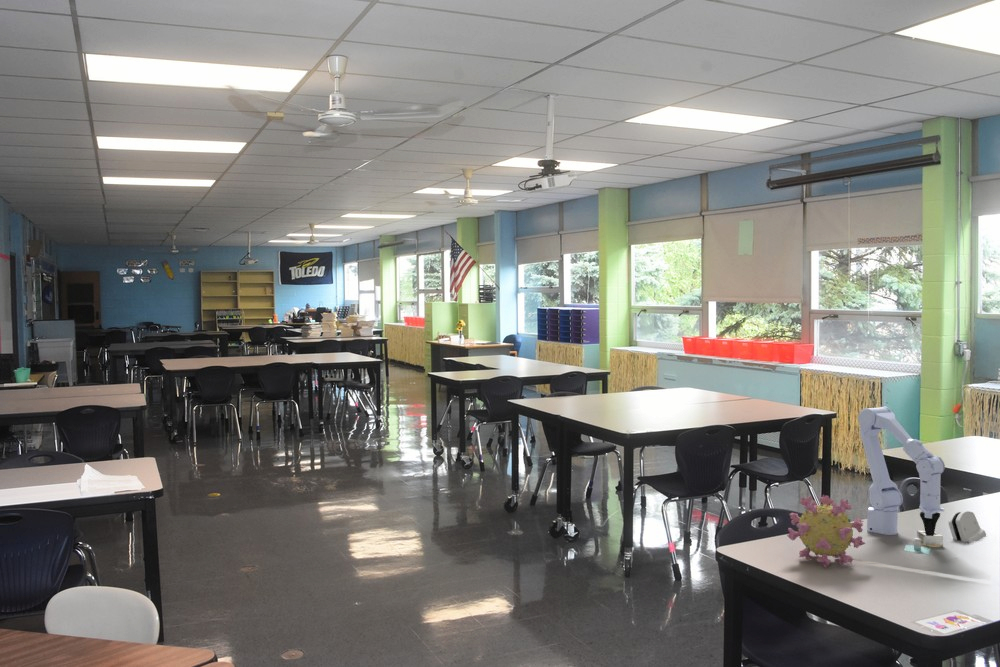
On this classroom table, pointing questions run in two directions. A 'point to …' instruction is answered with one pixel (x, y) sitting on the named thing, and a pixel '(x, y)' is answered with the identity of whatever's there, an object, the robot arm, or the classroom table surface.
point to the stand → (917, 547)
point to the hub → (931, 545)
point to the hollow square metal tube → (930, 538)
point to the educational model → (825, 530)
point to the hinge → (965, 527)
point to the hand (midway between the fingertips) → (929, 535)
